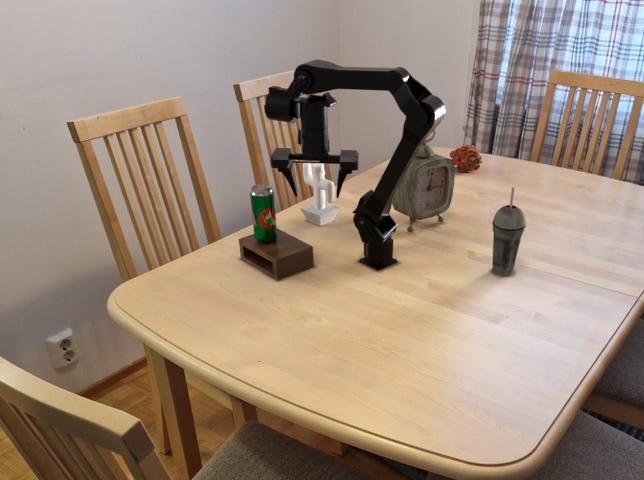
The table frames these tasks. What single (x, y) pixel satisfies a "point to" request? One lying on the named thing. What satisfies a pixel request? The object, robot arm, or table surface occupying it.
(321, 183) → the figurine
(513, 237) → the beverage cup
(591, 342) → the table surface
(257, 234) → the soda can
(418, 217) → the tabletop clock
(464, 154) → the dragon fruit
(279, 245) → the shelf
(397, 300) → the table surface
